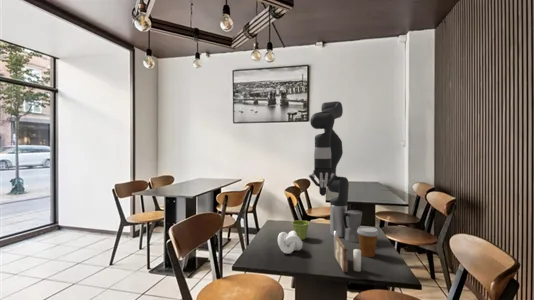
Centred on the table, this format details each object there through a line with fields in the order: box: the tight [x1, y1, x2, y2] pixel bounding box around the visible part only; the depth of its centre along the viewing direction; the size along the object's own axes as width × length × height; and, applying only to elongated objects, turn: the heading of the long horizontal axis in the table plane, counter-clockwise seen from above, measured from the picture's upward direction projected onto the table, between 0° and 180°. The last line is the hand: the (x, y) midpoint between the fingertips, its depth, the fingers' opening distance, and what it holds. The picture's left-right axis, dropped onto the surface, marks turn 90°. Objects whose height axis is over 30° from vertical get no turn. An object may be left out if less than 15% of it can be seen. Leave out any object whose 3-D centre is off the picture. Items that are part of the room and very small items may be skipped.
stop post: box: [352, 248, 362, 272], centre depth 119 cm, size 3×3×8 cm
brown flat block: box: [335, 236, 348, 273], centre depth 123 cm, size 16×2×10 cm, turn 179°
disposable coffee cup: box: [357, 226, 379, 258], centre depth 136 cm, size 10×10×12 cm
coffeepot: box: [343, 206, 363, 243], centre depth 156 cm, size 15×9×18 cm, turn 129°
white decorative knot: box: [277, 230, 304, 254], centre depth 140 cm, size 11×12×9 cm
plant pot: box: [291, 220, 310, 241], centre depth 159 cm, size 9×9×9 cm
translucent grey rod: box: [333, 231, 338, 259], centre depth 132 cm, size 2×2×12 cm
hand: (322, 195), depth 132 cm, fingers closed
